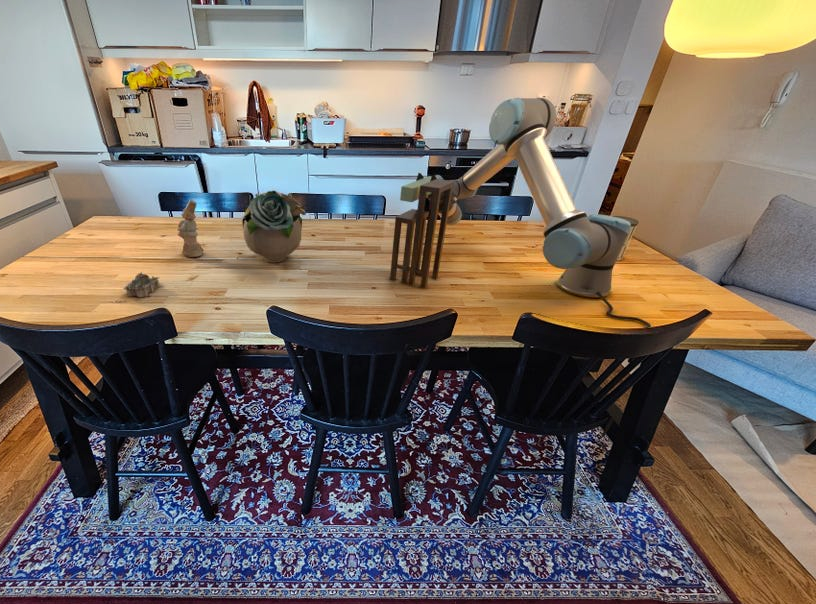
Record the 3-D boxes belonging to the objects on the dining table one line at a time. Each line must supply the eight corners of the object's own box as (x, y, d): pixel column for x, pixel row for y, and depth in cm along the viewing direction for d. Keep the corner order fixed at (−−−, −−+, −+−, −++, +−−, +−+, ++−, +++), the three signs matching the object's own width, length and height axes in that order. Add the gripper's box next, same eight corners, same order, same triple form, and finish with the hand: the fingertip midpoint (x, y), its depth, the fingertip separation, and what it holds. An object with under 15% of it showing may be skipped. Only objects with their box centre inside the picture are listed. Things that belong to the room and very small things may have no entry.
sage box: (427, 188, 134) (428, 176, 131) (438, 190, 132) (440, 177, 129) (399, 200, 120) (401, 186, 118) (412, 202, 118) (413, 188, 116)
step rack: (405, 268, 144) (416, 176, 126) (439, 276, 138) (455, 181, 120) (389, 279, 135) (398, 182, 118) (424, 288, 129) (439, 188, 112)
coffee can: (588, 250, 160) (602, 215, 152) (615, 251, 160) (630, 216, 152) (599, 260, 152) (615, 222, 144) (628, 261, 151) (644, 223, 143)
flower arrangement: (319, 254, 154) (318, 188, 140) (281, 276, 137) (275, 202, 123) (269, 243, 165) (264, 180, 151) (227, 262, 147) (217, 193, 133)
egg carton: (144, 282, 132) (141, 271, 129) (164, 285, 130) (161, 273, 128) (122, 296, 123) (118, 284, 121) (143, 299, 122) (140, 286, 119)
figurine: (209, 252, 156) (199, 199, 144) (194, 259, 149) (183, 204, 138) (192, 249, 159) (181, 196, 147) (176, 256, 152) (164, 201, 141)
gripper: (462, 217, 142) (446, 193, 121) (419, 210, 150) (397, 186, 129) (469, 196, 141) (454, 169, 120) (425, 190, 148) (404, 163, 128)
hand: (425, 178), depth 125 cm, fingers closed on sage box, 4 cm apart
